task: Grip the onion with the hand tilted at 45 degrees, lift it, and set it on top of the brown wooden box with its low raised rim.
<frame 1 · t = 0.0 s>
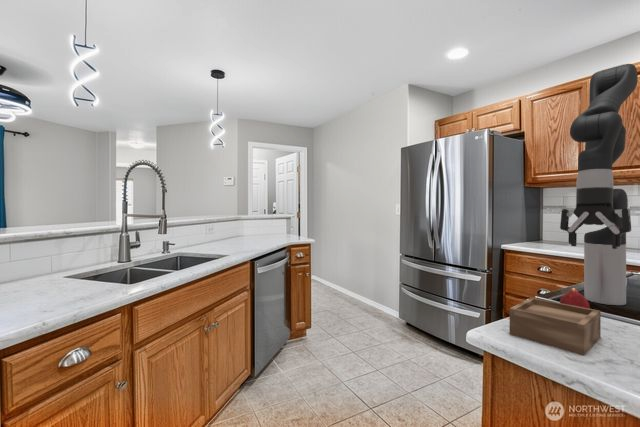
hand: (593, 247, 84), 17 cm above the worktop, tool pointing down, fingers open, 8 cm apart
brown wooden box: (554, 337, 68), on the worktop
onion: (574, 321, 78), on the worktop
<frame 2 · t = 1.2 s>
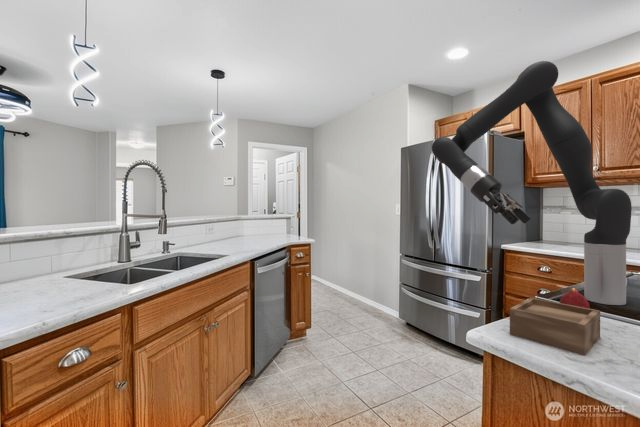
hand: (522, 221, 86), 24 cm above the worktop, tool tilted 45°, fingers open, 8 cm apart
nothing on the worktop moved.
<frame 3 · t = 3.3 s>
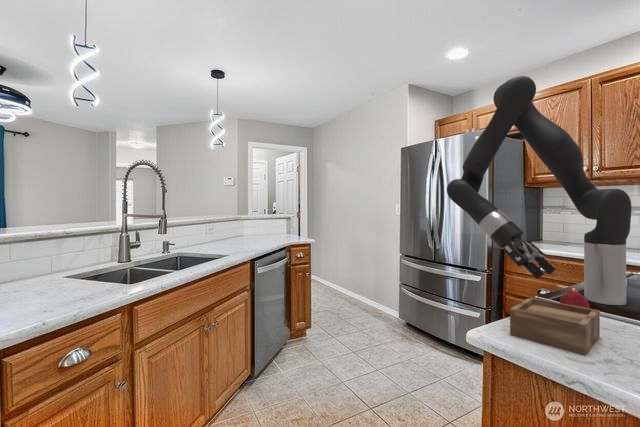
hand: (547, 274, 82), 11 cm above the worktop, tool tilted 45°, fingers open, 8 cm apart
nothing on the worktop moved.
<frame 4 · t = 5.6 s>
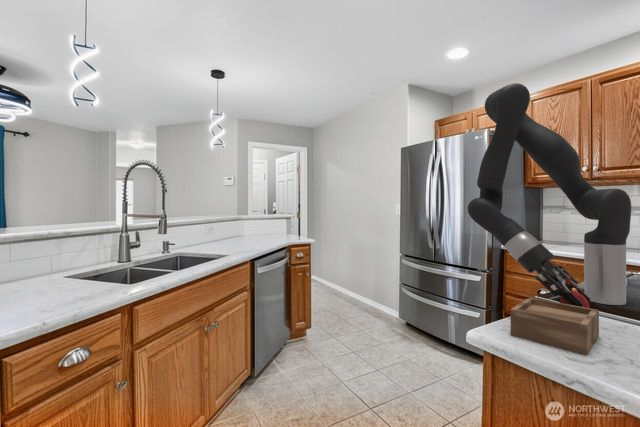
hand: (583, 304, 76), 4 cm above the worktop, tool tilted 45°, fingers closed on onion, 5 cm apart
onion: (574, 321, 78), on the worktop, touching gripper
everything else where it was.
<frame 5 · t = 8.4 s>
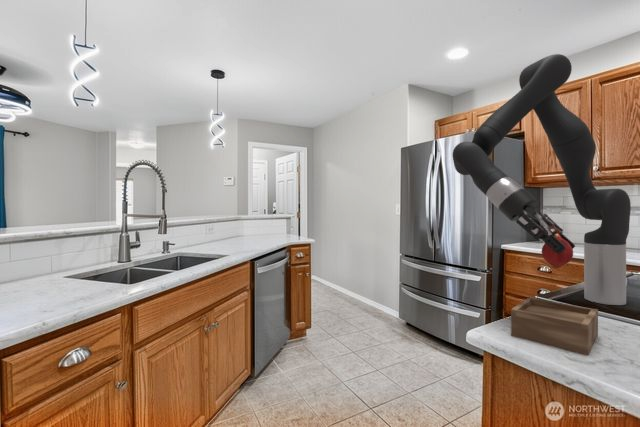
hand: (566, 250, 70), 19 cm above the worktop, tool tilted 45°, fingers closed on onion, 5 cm apart
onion: (556, 269, 72), point 14 cm above the worktop, touching gripper
everything else where it was.
when the fingers open (10 cm above the worktop, at t = 11.2 s): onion drops 1 cm, resting on brown wooden box.
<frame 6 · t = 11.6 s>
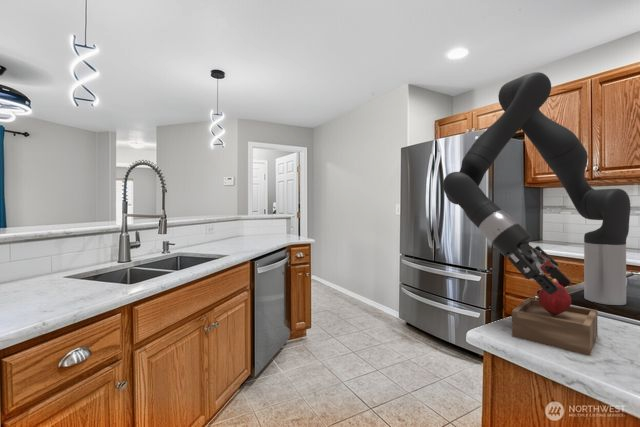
hand: (561, 288, 67), 11 cm above the worktop, tool tilted 45°, fingers open, 8 cm apart
brown wooden box: (554, 338, 68), on the worktop, touching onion
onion: (553, 316, 68), point 4 cm above the worktop, touching brown wooden box
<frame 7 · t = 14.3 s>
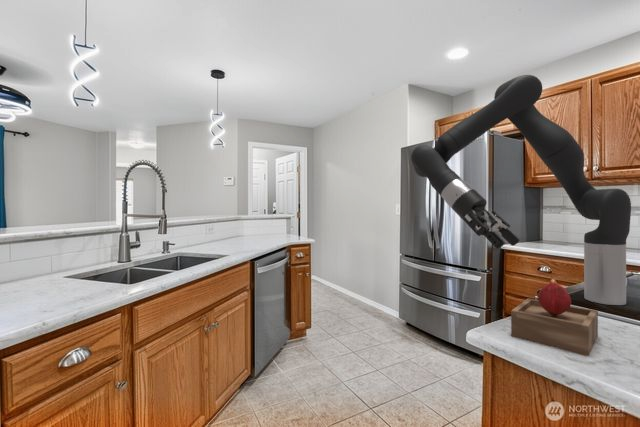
hand: (509, 244, 75), 19 cm above the worktop, tool tilted 45°, fingers open, 8 cm apart
brown wooden box: (554, 338, 68), on the worktop
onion: (554, 316, 68), point 4 cm above the worktop
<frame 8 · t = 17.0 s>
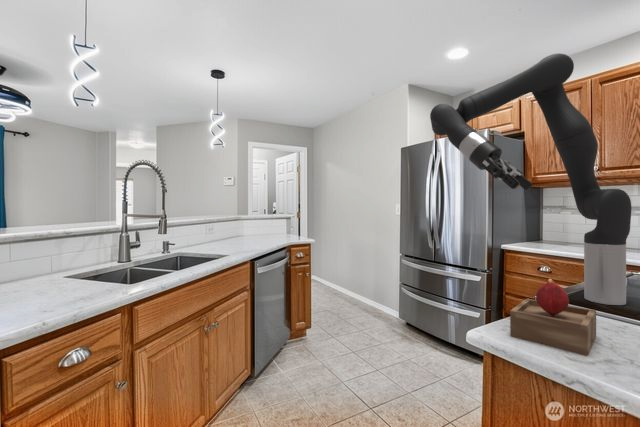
hand: (523, 187, 82), 34 cm above the worktop, tool tilted 45°, fingers open, 8 cm apart
brown wooden box: (553, 338, 68), on the worktop, touching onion
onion: (553, 316, 68), point 4 cm above the worktop, touching brown wooden box
at the end: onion inside the target area on the brown wooden box (0.1 cm from its centre), point 4.8 cm above the brown wooden box's base; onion touching brown wooden box; the gripper is holding nothing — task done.
